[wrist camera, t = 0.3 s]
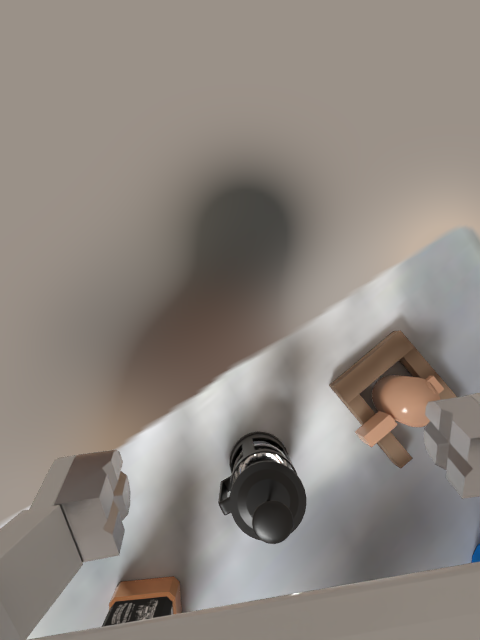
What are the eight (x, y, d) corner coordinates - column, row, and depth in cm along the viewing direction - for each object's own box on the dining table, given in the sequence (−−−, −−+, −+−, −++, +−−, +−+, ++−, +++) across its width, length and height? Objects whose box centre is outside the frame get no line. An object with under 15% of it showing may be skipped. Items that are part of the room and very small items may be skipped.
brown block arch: (457, 407, 63) (468, 409, 60) (393, 463, 62) (401, 468, 59) (393, 331, 64) (400, 330, 61) (329, 385, 63) (333, 386, 60)
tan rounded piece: (399, 362, 63) (422, 363, 55) (427, 396, 63) (455, 401, 55) (337, 415, 62) (352, 423, 54) (365, 449, 62) (384, 462, 54)
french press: (275, 419, 62) (298, 455, 39) (302, 472, 61) (342, 541, 39) (210, 453, 62) (195, 511, 39) (237, 508, 61) (238, 599, 38)
